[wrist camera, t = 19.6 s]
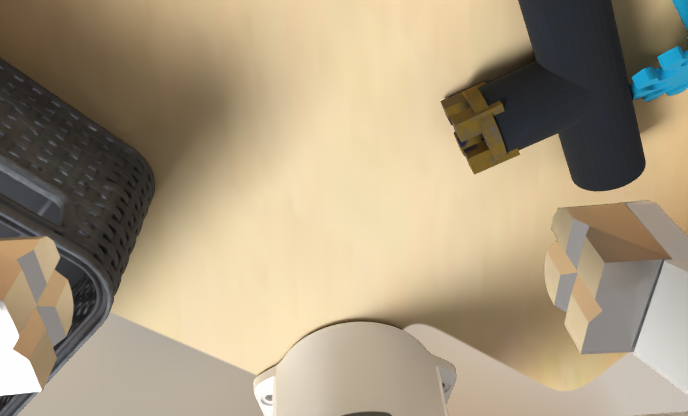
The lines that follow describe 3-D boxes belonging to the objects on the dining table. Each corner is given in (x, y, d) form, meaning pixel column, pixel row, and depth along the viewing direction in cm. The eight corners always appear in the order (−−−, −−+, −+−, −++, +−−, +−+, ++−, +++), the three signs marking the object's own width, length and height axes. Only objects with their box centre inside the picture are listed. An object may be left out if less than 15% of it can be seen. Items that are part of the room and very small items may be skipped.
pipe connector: (501, 238, 43) (426, 53, 35) (480, 199, 48) (409, 27, 40) (660, 172, 41) (618, -39, 34) (623, 138, 46) (578, -56, 38)
